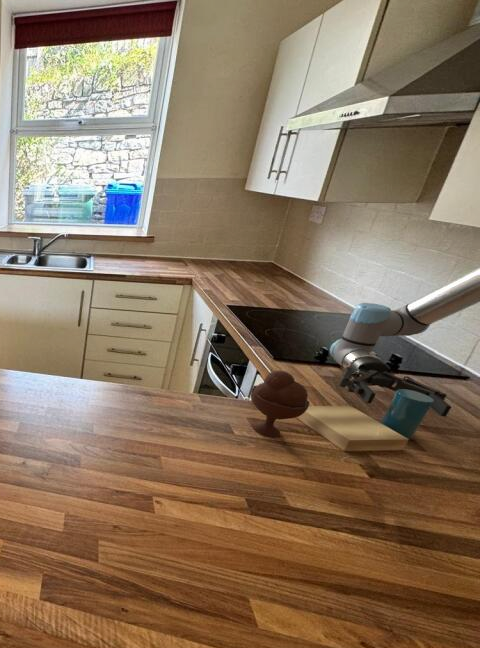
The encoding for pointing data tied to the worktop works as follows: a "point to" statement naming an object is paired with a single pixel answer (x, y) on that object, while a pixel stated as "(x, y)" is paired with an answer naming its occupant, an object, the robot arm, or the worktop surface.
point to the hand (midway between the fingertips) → (408, 404)
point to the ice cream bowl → (278, 401)
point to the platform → (351, 429)
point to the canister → (406, 412)
